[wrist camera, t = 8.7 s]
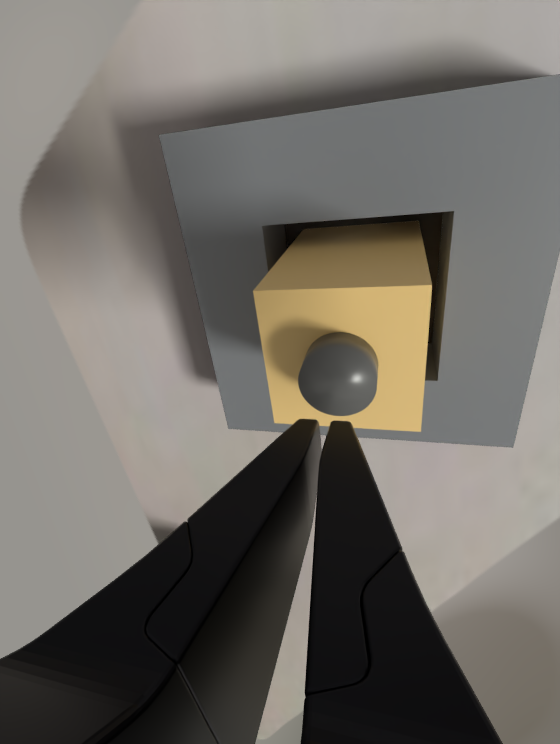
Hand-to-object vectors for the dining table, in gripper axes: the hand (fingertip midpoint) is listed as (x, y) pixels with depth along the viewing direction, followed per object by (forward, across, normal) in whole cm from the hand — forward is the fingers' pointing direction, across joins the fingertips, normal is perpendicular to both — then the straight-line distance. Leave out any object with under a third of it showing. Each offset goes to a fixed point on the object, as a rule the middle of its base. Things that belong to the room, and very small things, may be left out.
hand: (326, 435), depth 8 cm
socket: (+10, 0, 0) cm, 10 cm away
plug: (+10, 0, 0) cm, 10 cm away
